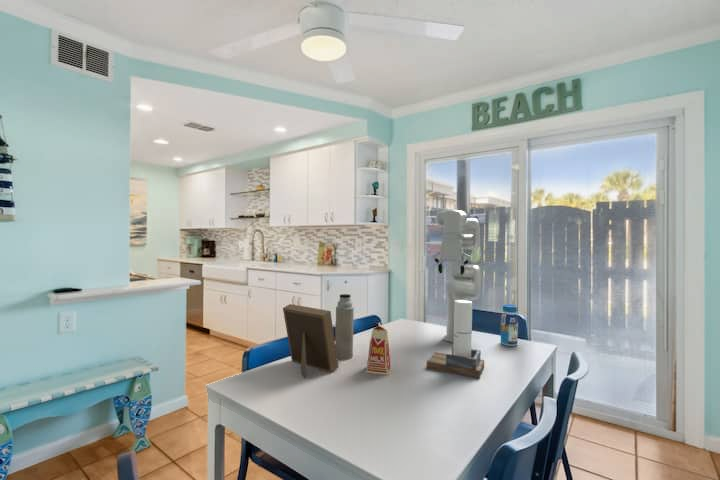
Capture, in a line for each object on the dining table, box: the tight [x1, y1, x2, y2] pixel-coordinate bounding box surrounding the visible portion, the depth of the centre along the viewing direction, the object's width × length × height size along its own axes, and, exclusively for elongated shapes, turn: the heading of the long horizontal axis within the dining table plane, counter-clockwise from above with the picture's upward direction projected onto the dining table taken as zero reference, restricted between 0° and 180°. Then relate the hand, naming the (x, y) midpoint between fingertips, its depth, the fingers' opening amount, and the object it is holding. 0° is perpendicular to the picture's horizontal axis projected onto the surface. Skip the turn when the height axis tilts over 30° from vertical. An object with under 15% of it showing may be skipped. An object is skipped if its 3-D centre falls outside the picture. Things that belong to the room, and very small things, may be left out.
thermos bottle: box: [334, 293, 355, 361], centre depth 162 cm, size 8×8×28 cm
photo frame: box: [282, 303, 339, 379], centre depth 145 cm, size 15×22×25 cm
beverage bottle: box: [500, 304, 519, 347], centre depth 187 cm, size 8×8×20 cm
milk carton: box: [365, 322, 392, 376], centre depth 147 cm, size 9×9×20 cm
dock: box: [426, 346, 485, 379], centre depth 151 cm, size 14×21×7 cm, turn 64°
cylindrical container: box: [452, 299, 473, 358], centre depth 150 cm, size 7×7×25 cm
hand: (451, 273), depth 167 cm, fingers open, 9 cm apart
